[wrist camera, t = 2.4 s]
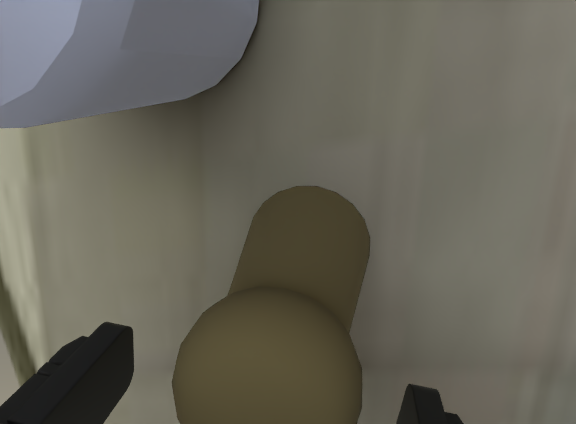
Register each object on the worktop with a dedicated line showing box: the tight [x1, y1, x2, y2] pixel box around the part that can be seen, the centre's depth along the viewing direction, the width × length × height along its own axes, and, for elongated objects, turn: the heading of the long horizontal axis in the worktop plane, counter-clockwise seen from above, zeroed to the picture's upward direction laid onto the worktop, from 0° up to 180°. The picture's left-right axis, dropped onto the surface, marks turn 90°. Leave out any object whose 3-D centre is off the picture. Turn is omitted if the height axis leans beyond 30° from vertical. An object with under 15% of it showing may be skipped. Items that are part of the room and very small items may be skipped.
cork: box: [172, 186, 370, 424], centre depth 15 cm, size 6×6×11 cm
